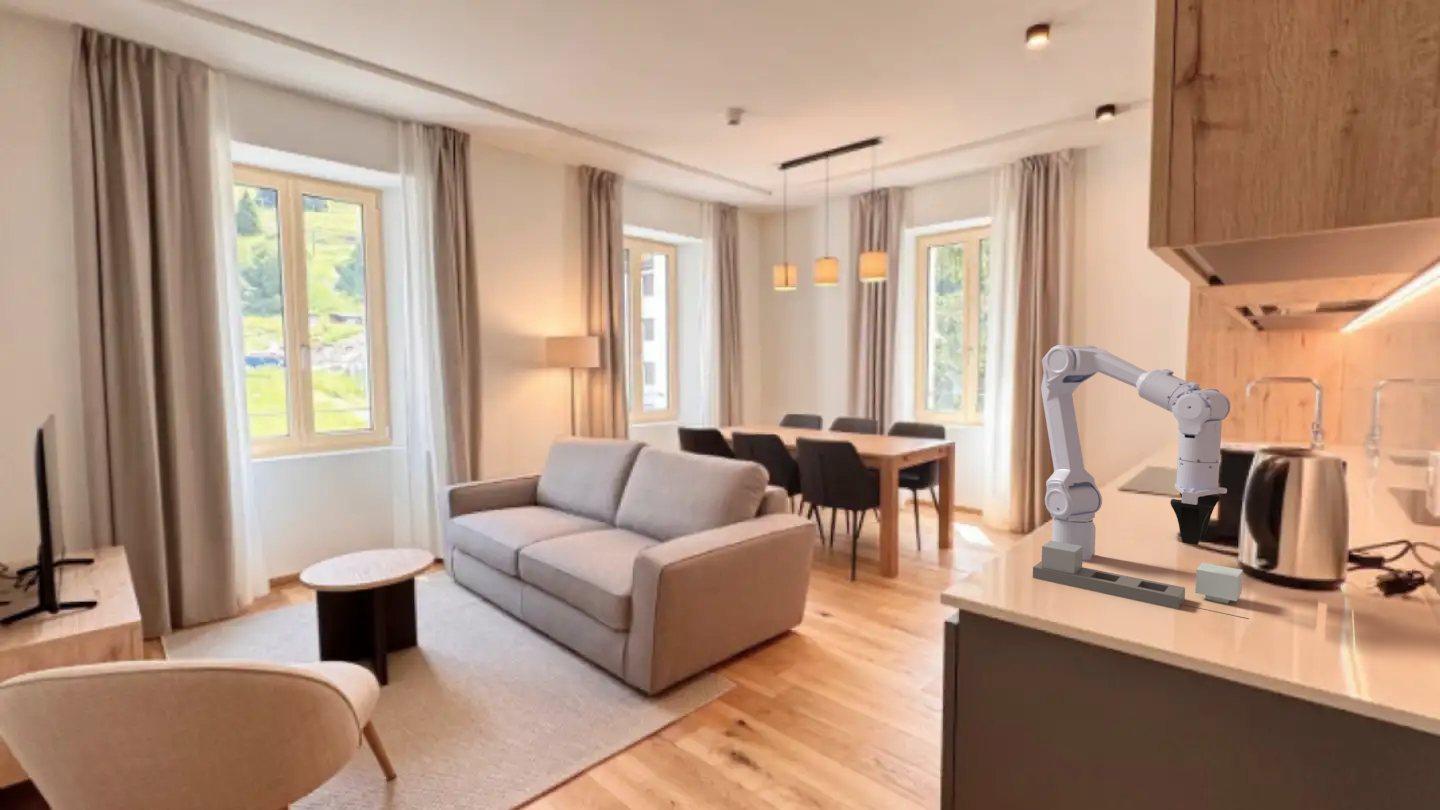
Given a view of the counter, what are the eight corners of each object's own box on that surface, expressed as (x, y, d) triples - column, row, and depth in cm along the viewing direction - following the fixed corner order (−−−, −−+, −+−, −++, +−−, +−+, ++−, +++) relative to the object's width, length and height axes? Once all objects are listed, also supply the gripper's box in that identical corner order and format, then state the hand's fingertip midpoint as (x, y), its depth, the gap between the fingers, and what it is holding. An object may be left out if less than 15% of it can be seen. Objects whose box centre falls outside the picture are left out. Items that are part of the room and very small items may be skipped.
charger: (1200, 596, 110) (1202, 562, 110) (1240, 605, 106) (1242, 569, 106) (1194, 604, 107) (1196, 569, 106) (1236, 613, 103) (1237, 577, 102)
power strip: (1043, 574, 122) (1044, 538, 121) (1250, 619, 100) (1252, 575, 100) (1032, 582, 117) (1033, 545, 117) (1246, 630, 96) (1248, 585, 96)
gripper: (1222, 468, 100) (1217, 552, 101) (1233, 457, 111) (1228, 534, 112) (1168, 463, 105) (1164, 543, 106) (1183, 453, 116) (1179, 527, 117)
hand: (1193, 538), depth 109 cm, fingers open, 7 cm apart
